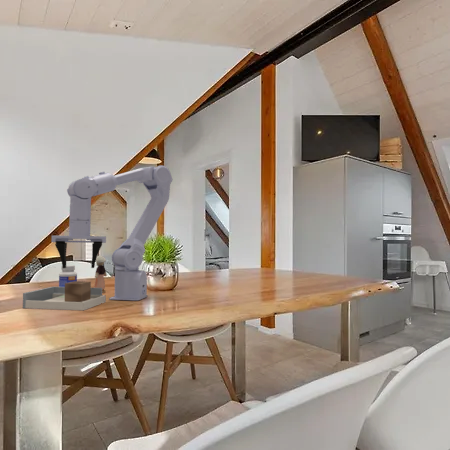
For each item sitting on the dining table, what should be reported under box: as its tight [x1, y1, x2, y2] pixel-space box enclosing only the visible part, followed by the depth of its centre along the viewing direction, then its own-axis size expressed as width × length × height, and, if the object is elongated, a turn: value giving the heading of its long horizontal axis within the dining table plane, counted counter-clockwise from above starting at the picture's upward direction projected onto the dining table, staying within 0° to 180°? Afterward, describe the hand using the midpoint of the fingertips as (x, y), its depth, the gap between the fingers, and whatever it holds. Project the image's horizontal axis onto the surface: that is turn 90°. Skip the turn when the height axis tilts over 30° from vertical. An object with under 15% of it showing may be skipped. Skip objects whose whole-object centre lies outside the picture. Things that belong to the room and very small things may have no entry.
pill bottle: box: [58, 264, 78, 287], centre depth 120 cm, size 5×5×10 cm
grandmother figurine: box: [93, 255, 108, 294], centre depth 127 cm, size 8×4×13 cm, turn 5°
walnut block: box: [65, 280, 92, 302], centre depth 100 cm, size 5×5×5 cm
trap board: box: [22, 286, 107, 311], centre depth 104 cm, size 18×13×4 cm
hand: (78, 267), depth 106 cm, fingers open, 7 cm apart
